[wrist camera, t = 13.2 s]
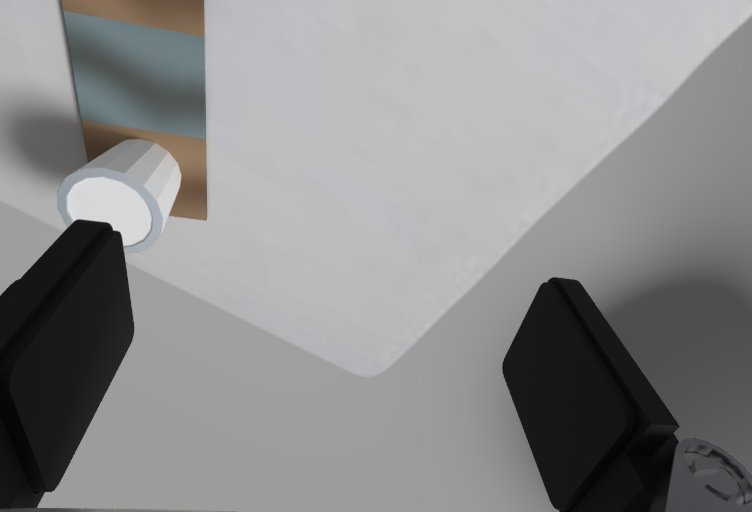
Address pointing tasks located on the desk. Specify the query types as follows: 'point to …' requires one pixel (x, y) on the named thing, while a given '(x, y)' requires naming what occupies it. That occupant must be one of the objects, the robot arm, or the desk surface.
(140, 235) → the white cup
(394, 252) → the desk surface
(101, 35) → the game board
